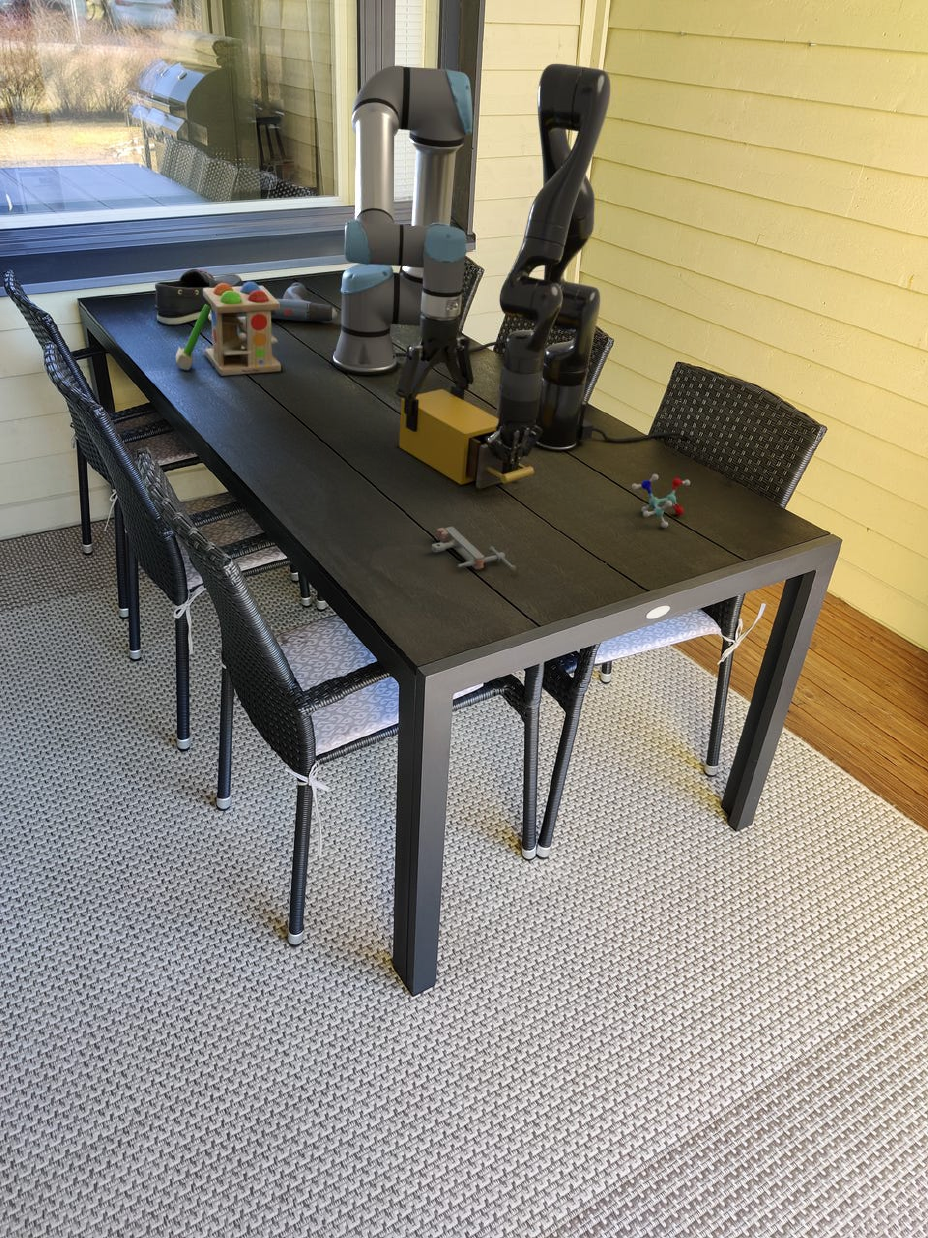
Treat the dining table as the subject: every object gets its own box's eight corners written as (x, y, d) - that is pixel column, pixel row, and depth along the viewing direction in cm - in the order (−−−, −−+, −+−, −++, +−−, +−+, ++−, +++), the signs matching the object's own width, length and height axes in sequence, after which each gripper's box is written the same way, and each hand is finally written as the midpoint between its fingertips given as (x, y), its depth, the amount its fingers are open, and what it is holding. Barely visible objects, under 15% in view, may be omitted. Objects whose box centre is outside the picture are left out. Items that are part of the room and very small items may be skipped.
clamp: (422, 531, 168) (472, 521, 172) (421, 542, 169) (471, 532, 174) (465, 574, 157) (517, 562, 162) (464, 586, 159) (516, 573, 163)
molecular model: (693, 521, 176) (676, 468, 175) (642, 536, 180) (626, 484, 178) (699, 512, 187) (684, 462, 185) (651, 526, 190) (636, 477, 189)
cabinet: (500, 472, 195) (506, 422, 189) (460, 484, 189) (465, 434, 183) (438, 436, 207) (442, 388, 201) (399, 446, 201) (401, 398, 195)
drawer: (535, 489, 188) (541, 448, 183) (499, 501, 183) (504, 459, 178) (455, 443, 202) (458, 404, 198) (420, 452, 197) (422, 412, 192)
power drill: (344, 304, 276) (335, 327, 259) (277, 298, 275) (264, 321, 258) (344, 285, 273) (335, 306, 256) (277, 279, 272) (264, 300, 255)
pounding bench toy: (183, 379, 220) (176, 299, 210) (169, 357, 231) (162, 280, 221) (282, 371, 230) (280, 294, 220) (264, 350, 240) (262, 276, 230)
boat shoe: (263, 303, 272) (261, 264, 267) (174, 326, 248) (170, 284, 243) (229, 294, 278) (227, 256, 272) (139, 317, 254) (134, 275, 248)
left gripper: (404, 328, 177) (399, 442, 190) (498, 312, 190) (487, 418, 203) (379, 316, 182) (376, 428, 194) (473, 301, 195) (464, 406, 207)
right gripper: (505, 405, 170) (495, 494, 179) (560, 392, 177) (547, 478, 187) (478, 390, 174) (469, 478, 184) (532, 378, 182) (521, 463, 191)
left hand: (433, 423), depth 198 cm, fingers closed on cabinet, 10 cm apart
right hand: (509, 478), depth 185 cm, fingers closed
